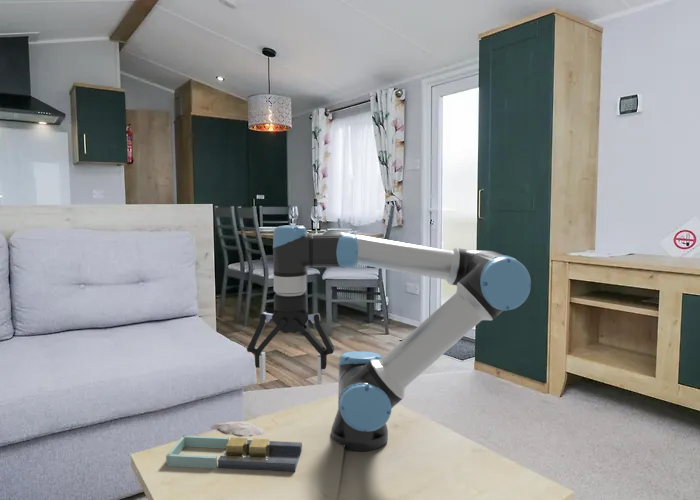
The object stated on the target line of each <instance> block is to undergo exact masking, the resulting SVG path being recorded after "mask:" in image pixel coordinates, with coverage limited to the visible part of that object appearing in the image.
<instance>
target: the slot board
mask: <svg viewBox="0 0 700 500" xmlns="http://www.w3.org/2000/svg"><path fill="white" fill-rule="evenodd" d="M252 440H253V439H247V455H246V457H240V456H226V455H220V456H219V458H217V468H218V469H223V470H224V469H225V470H241V471H242V470H245V471H247V470H248V471H262V472H263V471H265V472H282V473H283V472H286V473H296V469H297V466H298V463H299V461H300V457H301V454H302V451H303V442H301V441H300V442H298V441H296V442H295V441H279V440H277V441H276V440H274V441H273V440H269V457H268V458H261V457H249V446H250V444H251V442H252Z"/></svg>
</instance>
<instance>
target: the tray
mask: <svg viewBox="0 0 700 500" xmlns="http://www.w3.org/2000/svg"><path fill="white" fill-rule="evenodd" d="M229 440H230V437H224V436H223V437H222V436H221V437H220V436H206V435H205V436H204V435H203V436H202V435H201V436H200V435H182V436H181V437H180V438H179V440H178V441H177V442H176V443H175V444H174V446H173V447H172V448H171V449H170V451H168V453H167V454H166V456H165V464H166V467H184V468H186V467H187V468H202V469H204V468H207V469H217V468H218V456H217V455H216V456H215V455H214V456H212V455H193V454H180V453H182V452H183V450H184V449H185V447H186V448H187V447H190V448H191V447H192V448H193V447H194V448H209V449H210V448H211V449H212V448H214V449H215V448H216V449H226V445H227V443H228V442H229Z"/></svg>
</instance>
